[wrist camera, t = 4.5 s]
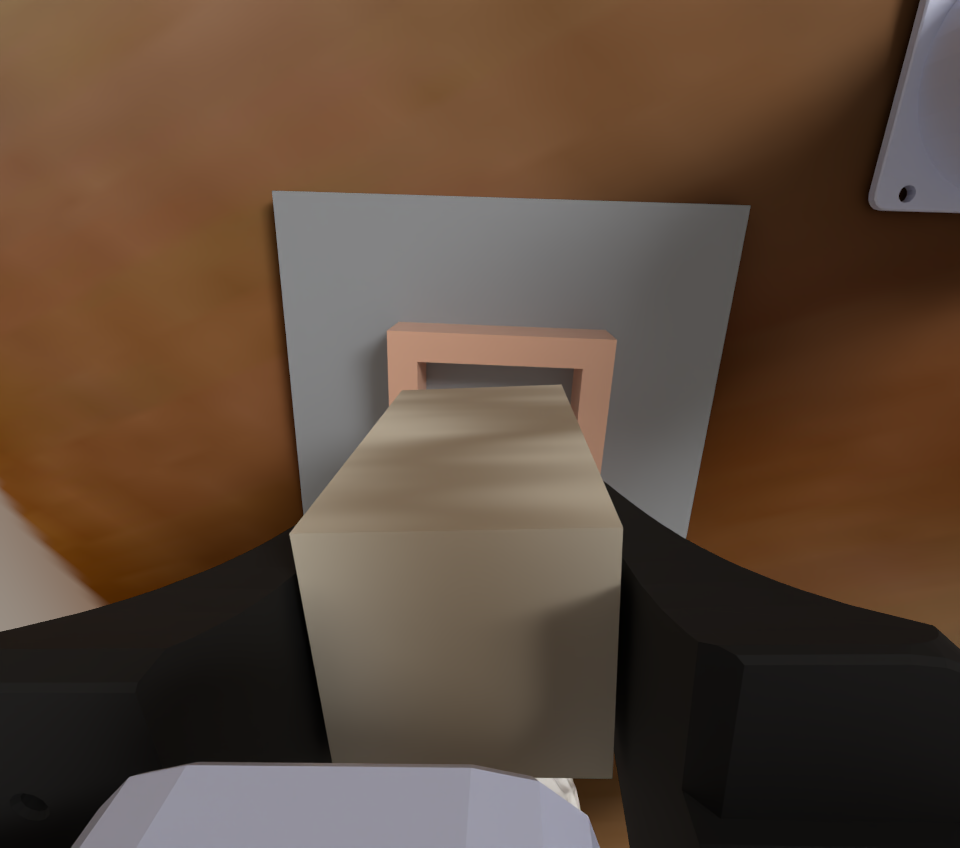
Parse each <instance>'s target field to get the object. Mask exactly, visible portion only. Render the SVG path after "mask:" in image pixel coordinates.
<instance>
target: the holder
mask: <svg viewBox="0 0 960 848" xmlns="http://www.w3.org/2000/svg"><path fill="white" fill-rule="evenodd" d="M272 196H273V206H274V216H275V227H276V237H277V247H278V258H279V268H280V278H281V288H282V299H283V309H284V319H285V330H286V340H287V350H288V361H289V371H290V381H291V391H292V402H293V412H294V422H295V433H296V443H297V453H298V464H299V474H300V484H301V494H302V505H303V515H304V514H305V513H306V512H307V511H308V509H309V508H310V507H311V505H312V504H313V503H314V502H315V500H316V499H317V498H318V497H319V495H320V494H321V493H322V491H323V490H324V489H325V488H326V486H327V485H328V484H329V482H330V481H331V480H332V479H333V477H334V476H335V475H336V474H337V472H338V471H339V470H340V468H341V467H342V466H343V465H344V463H345V462H346V461H347V460H348V458H349V457H350V456H351V454H352V453H353V452H354V451H355V449H356V448H357V447H358V446H359V444H360V443H361V442H362V440H363V439H364V438H365V437H366V435H367V434H368V433H369V432H370V430H371V429H372V428H373V426H374V425H375V424H376V423H377V421H378V420H379V419H380V418H381V416H382V415H383V414H384V412H385V411H386V410H387V409H388V407H389V406H390V405H391V404H392V402H393V401H394V400H395V398H396V397H397V396H398V395H399V393H400V392H401V391H402V390H425V389H453V388H481V387H508V386H536V385H562V387H563V389H564V391H565V394H566V396H567V398H568V401H569V403H570V405H571V408H572V410H573V412H574V415H575V417H576V419H577V422H578V424H579V426H580V429H581V431H582V433H583V436H584V438H585V440H586V443H587V445H588V447H589V449H590V452H591V454H592V456H593V459H594V461H595V463H596V466H597V468H598V470H599V473H600V475H601V477H602V480H603V481H604V482H606V483H607V484H608V485H610V486H611V487H612V488H613V489H615V490H616V491H617V492H619V493H620V494H621V495H622V496H624V497H625V498H626V499H628V500H629V501H630V502H631V503H633V504H634V505H635V506H637V507H638V508H640V509H641V510H642V511H644V512H645V513H646V514H648V515H649V516H651V517H652V518H654V519H655V520H657V521H658V522H659V523H661V524H662V525H664V526H666V527H667V528H669V529H670V530H672V531H674V532H675V533H677V534H678V535H680V536H682V537H683V538H685V539H686V535H687V530H688V525H689V520H690V515H691V510H692V504H693V499H694V494H695V489H696V484H697V479H698V474H699V469H700V463H701V458H702V453H703V448H704V443H705V438H706V433H707V427H708V422H709V417H710V412H711V407H712V402H713V397H714V392H715V386H716V381H717V376H718V371H719V366H720V361H721V356H722V350H723V345H724V340H725V335H726V330H727V325H728V320H729V315H730V309H731V304H732V299H733V294H734V289H735V284H736V279H737V273H738V268H739V263H740V258H741V253H742V248H743V243H744V238H745V232H746V227H747V222H748V217H749V212H750V207H751V205H721V204H689V203H656V202H623V201H591V200H558V199H525V198H493V197H460V196H427V195H395V194H362V193H329V192H297V191H272Z"/></svg>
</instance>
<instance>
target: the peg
mask: <svg viewBox="0 0 960 848" xmlns="http://www.w3.org/2000/svg"><path fill="white" fill-rule="evenodd" d="M289 535H290V540H291V545H292V551H293V556H294V561H295V567H296V572H297V577H298V583H299V588H300V593H301V599H302V604H303V609H304V615H305V620H306V625H307V631H308V636H309V641H310V647H311V652H312V657H313V663H314V668H315V673H316V679H317V684H318V689H319V695H320V700H321V705H322V711H323V716H324V721H325V727H326V732H327V737H328V743H329V748H330V753H331V759H332V763H372V764H473V765H478V766H483V767H488V768H493V769H498V770H503V771H508V772H513V773H518V774H523V775H528V776H532V777H534V778H586V779H612V775H613V752H614V729H615V705H616V682H617V659H618V635H619V612H620V589H621V565H622V542H623V526H622V524H621V521H620V519H619V517H618V515H617V512H616V510H615V508H614V505H613V503H612V501H611V498H610V496H609V494H608V491H607V489H606V487H605V484H604V482H603V480H602V477H601V475H600V473H599V470H598V468H597V466H596V463H595V461H594V459H593V456H592V454H591V452H590V449H589V447H588V445H587V443H586V440H585V438H584V436H583V433H582V431H581V429H580V426H579V424H578V422H577V419H576V417H575V415H574V412H573V410H572V408H571V405H570V403H569V401H568V398H567V396H566V394H565V391H564V389H563V387H562V385H536V386H508V387H481V388H453V389H425V390H402V391H401V392H400V393H399V395H398V396H397V397H396V398H395V400H394V401H393V402H392V404H391V405H390V406H389V407H388V409H387V410H386V411H385V412H384V414H383V415H382V416H381V418H380V419H379V420H378V421H377V423H376V424H375V425H374V426H373V428H372V429H371V430H370V432H369V433H368V434H367V435H366V437H365V438H364V439H363V440H362V442H361V443H360V444H359V446H358V447H357V448H356V449H355V451H354V452H353V453H352V454H351V456H350V457H349V458H348V460H347V461H346V462H345V463H344V465H343V466H342V467H341V468H340V470H339V471H338V472H337V474H336V475H335V476H334V477H333V479H332V480H331V481H330V482H329V484H328V485H327V486H326V488H325V489H324V490H323V491H322V493H321V494H320V495H319V497H318V498H317V499H316V500H315V502H314V503H313V504H312V505H311V507H310V508H309V509H308V511H307V512H306V513H305V514H304V516H303V517H302V518H301V519H300V521H299V522H298V523H297V525H296V526H295V527H294V528H293V530H292V531H291V532H290V533H289Z"/></svg>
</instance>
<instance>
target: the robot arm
mask: <svg viewBox="0 0 960 848" xmlns="http://www.w3.org/2000/svg"><path fill="white" fill-rule="evenodd" d="M903 187H905V188H906V190H907V196H906V198H905V200H903V201H902V202H901V201H900V199H899V193H900V191H901V189H902V188H903ZM868 201H869V204H870V206H871V207H872V208H873V209H875V210H879V211H905V212H938V213H960V0H920V2H919V6H918V10H917V14H916V18H915V21H914V25H913V29H912V33H911V36H910V40H909V44H908V48H907V51H906V55H905V59H904V63H903V67H902V70H901V74H900V78H899V82H898V85H897V89H896V93H895V97H894V101H893V104H892V108H891V112H890V116H889V119H888V123H887V127H886V131H885V134H884V138H883V142H882V146H881V150H880V153H879V157H878V161H877V165H876V168H875V172H874V176H873V180H872V183H871V187H870V191H869V197H868ZM603 482H604V481H603ZM604 484H605V487H606V489H607V491H608V494H609V496H610V498H611V501H612V503H613V505H614V508H615V510H616V512H617V515H618V517H619V519H620V521H621V524H622V526H623V542H622V565H621V589H620V612H619V635H618V659H617V682H616V705H615V729H614V754H615V759H616V765H617V771H618V777H619V783H620V789H621V795H622V801H623V808H624V814H625V820H626V826H627V832H628V839H629V845H630V848H960V649H959V648H958V647H957V646H956V645H955V644H954V643H952V642H951V641H950V640H949V639H948V638H947V637H946V636H945V635H944V634H942V633H941V632H940V631H939V630H938V629H937V628H936V627H934V626H933V625H929V624H925V623H921V622H917V621H913V620H908V619H904V618H900V617H896V616H892V615H888V614H884V613H880V612H876V611H872V610H868V609H864V608H860V607H856V606H852V605H848V604H845V603H841V602H838V601H835V600H832V599H829V598H825V597H822V596H819V595H816V594H813V593H809V592H806V591H803V590H800V589H797V588H794V587H792V586H789V585H786V584H783V583H780V582H778V581H775V580H772V579H770V578H767V577H765V576H762V575H760V574H758V573H755V572H753V571H750V570H748V569H745V568H743V567H740V566H738V565H736V564H734V563H732V562H729V561H727V560H725V559H723V558H721V557H719V556H717V555H715V554H713V553H711V552H709V551H707V550H705V549H703V548H701V547H699V546H697V545H696V544H694V543H692V542H690V541H688V540H687V539H685V538H683V537H682V536H680V535H678V534H677V533H675V532H674V531H672V530H670V529H669V528H667V527H666V526H664V525H662V524H661V523H659V522H658V521H657V520H655V519H654V518H652V517H651V516H649V515H648V514H646V513H645V512H644V511H642V510H641V509H640V508H638V507H637V506H635V505H634V504H633V503H631V502H630V501H629V500H628V499H626V498H625V497H624V496H622V495H621V494H620V493H619V492H617V491H616V490H615V489H613V488H612V487H611V486H610V485H608V484H607V483H606V482H604ZM295 526H296V525H295ZM295 526H293V527H292V528H290V529H288V530H286V531H285V532H283V533H281V534H280V535H278V536H276V537H274V538H273V539H271V540H269V541H268V542H266V543H264V544H262V545H260V546H258V547H256V548H254V549H252V550H250V551H248V552H246V553H244V554H242V555H240V556H238V557H236V558H234V559H231V560H229V561H227V562H225V563H223V564H221V565H218V566H216V567H214V568H211V569H209V570H206V571H204V572H201V573H199V574H196V575H193V576H191V577H188V578H186V579H183V580H181V581H178V582H175V583H173V584H170V585H168V586H165V587H162V588H160V589H157V590H154V591H151V592H148V593H145V594H142V595H139V596H136V597H133V598H129V599H126V600H123V601H119V602H116V603H113V604H109V605H106V606H103V607H99V608H96V609H92V610H89V611H85V612H82V613H78V614H74V615H69V616H65V617H61V618H57V619H53V620H49V621H45V622H40V623H37V624H32V625H28V626H24V627H20V628H15V629H11V630H6V631H2V632H0V848H600V847H599V844H598V842H597V839H596V836H595V833H594V831H593V828H592V825H591V822H590V820H589V817H588V815H586V814H585V813H583V812H582V811H581V810H579V809H578V808H576V807H575V806H573V805H572V804H571V803H569V802H568V801H566V800H565V799H564V798H562V797H561V796H559V795H558V794H556V793H555V792H554V791H552V790H551V789H549V788H548V787H547V786H545V785H544V784H542V783H541V782H539V781H538V780H537V779H535V778H534V777H532V776H528V775H523V774H518V773H513V772H508V771H503V770H498V769H493V768H488V767H483V766H478V765H473V764H372V763H332V759H331V753H330V748H329V743H328V737H327V732H326V727H325V721H324V716H323V711H322V705H321V700H320V695H319V689H318V684H317V679H316V673H315V668H314V663H313V657H312V652H311V647H310V641H309V636H308V631H307V625H306V620H305V615H304V609H303V604H302V599H301V593H300V588H299V583H298V577H297V572H296V567H295V561H294V556H293V551H292V545H291V540H290V535H289V533H290V532H291V531H292V530H293V528H294V527H295Z"/></svg>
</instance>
